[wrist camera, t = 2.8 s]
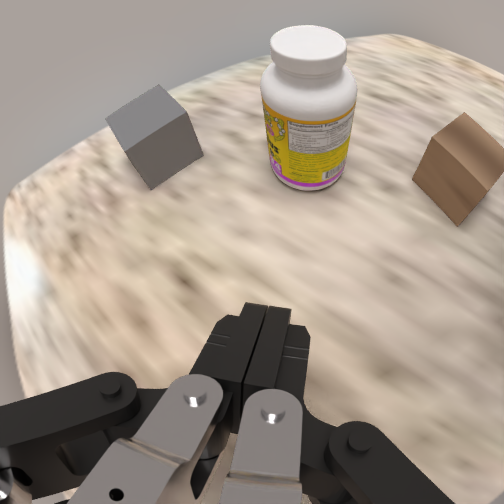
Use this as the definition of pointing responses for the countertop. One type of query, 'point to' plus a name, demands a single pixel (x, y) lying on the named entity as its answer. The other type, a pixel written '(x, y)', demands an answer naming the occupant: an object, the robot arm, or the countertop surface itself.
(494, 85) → the countertop surface
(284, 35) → the supplement bottle
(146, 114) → the charcoal block
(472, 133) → the walnut block
